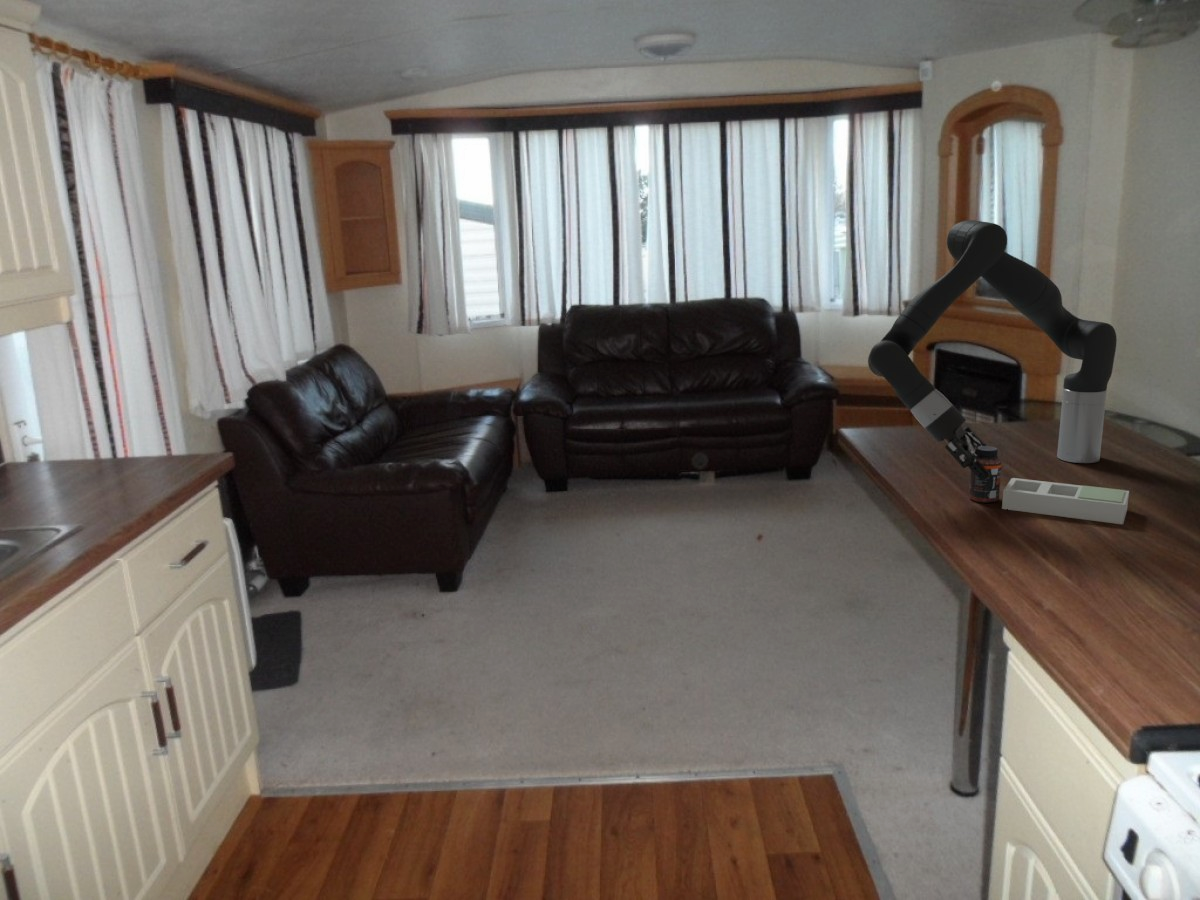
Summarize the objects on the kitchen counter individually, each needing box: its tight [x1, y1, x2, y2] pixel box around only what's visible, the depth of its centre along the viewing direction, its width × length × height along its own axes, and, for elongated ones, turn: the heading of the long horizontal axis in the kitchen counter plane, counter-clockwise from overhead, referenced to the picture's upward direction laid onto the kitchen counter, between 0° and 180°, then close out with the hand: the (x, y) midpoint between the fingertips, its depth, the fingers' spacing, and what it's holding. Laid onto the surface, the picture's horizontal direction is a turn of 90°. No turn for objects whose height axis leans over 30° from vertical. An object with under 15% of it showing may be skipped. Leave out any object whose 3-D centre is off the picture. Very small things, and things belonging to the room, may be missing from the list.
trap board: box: [1001, 477, 1130, 525], centre depth 192 cm, size 10×22×4 cm, turn 58°
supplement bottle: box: [968, 445, 1003, 503], centre depth 199 cm, size 6×6×11 cm
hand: (990, 473), depth 199 cm, fingers open, 8 cm apart
